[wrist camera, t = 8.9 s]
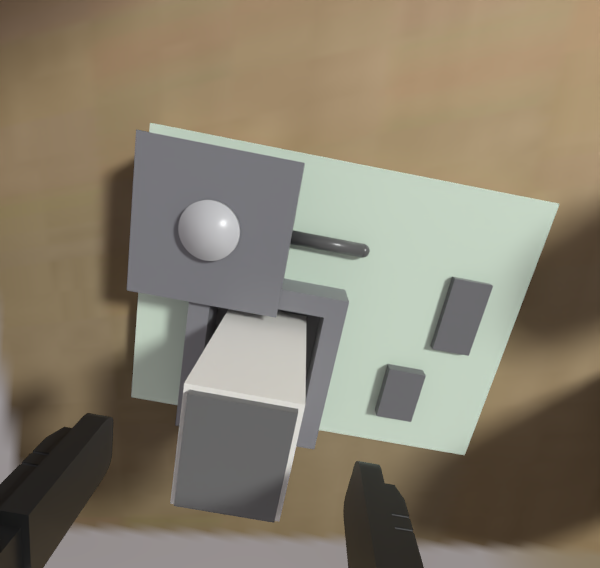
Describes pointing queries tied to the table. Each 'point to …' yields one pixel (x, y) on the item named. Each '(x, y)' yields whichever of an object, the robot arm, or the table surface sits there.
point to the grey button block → (216, 224)
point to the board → (377, 301)
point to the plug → (242, 417)
